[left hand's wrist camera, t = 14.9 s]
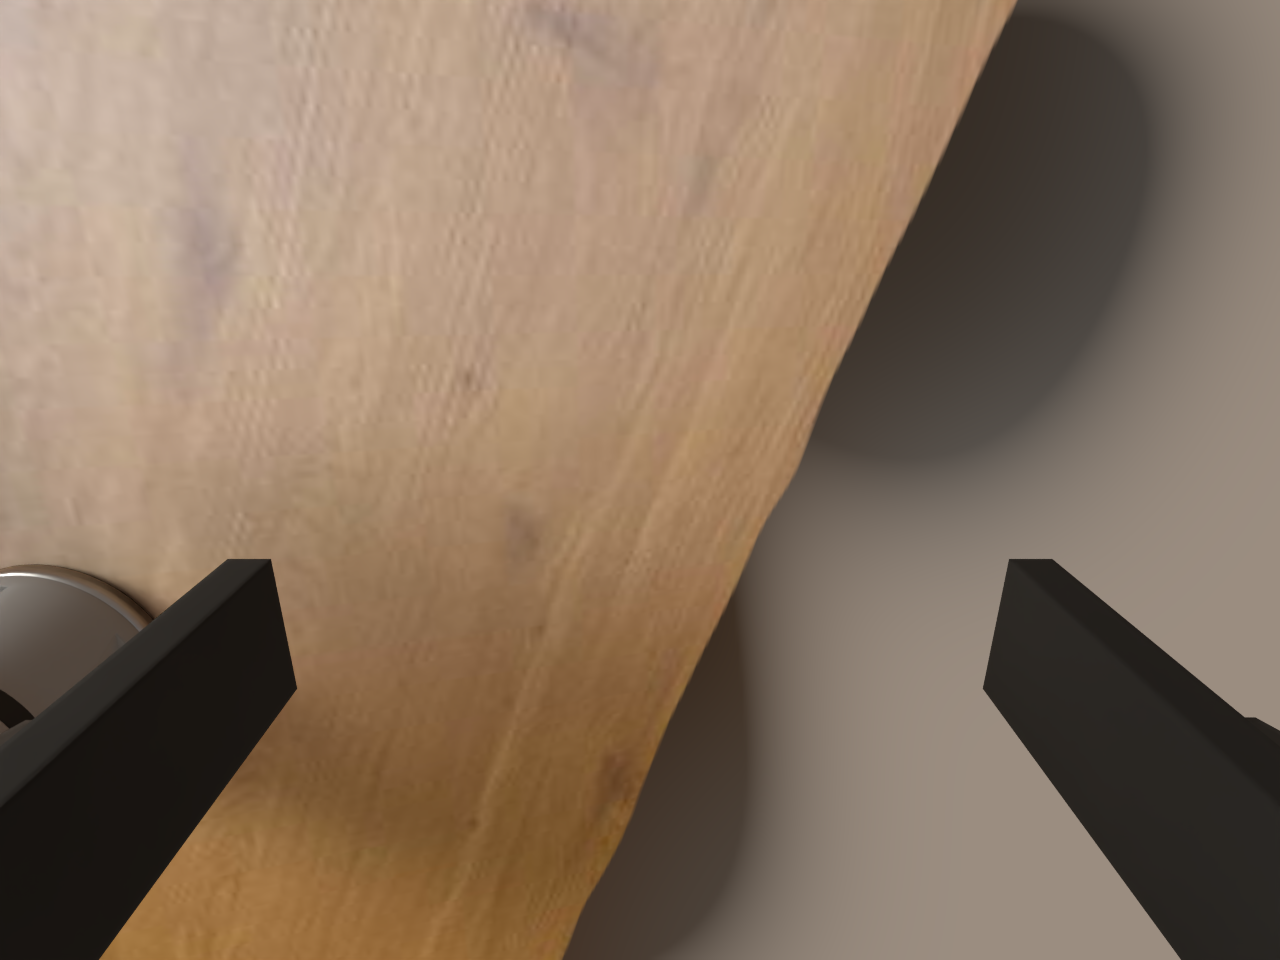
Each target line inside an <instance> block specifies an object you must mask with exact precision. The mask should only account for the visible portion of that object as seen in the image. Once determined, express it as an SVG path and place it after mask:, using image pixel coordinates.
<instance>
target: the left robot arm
mask: <svg viewBox="0 0 1280 960" xmlns="http://www.w3.org/2000/svg"><path fill="white" fill-rule="evenodd" d="M296 689H297V686H296V681H295V676H294V671H293V666H292V661H291V656H290V651H289V646H288V641H287V636H286V631H285V627H284V622H283V617H282V612H281V607H280V602H279V597H278V592H277V587H276V582H275V577H274V572H273V567H272V562H271V559H227V560H226V561H225V562H224V563H222V564H221V565H220V566H219V567H218V568H216V569H215V570H214V571H213V572H211V573H210V574H209V575H208V576H207V577H205V578H204V579H203V580H202V581H201V582H199V583H198V584H197V585H196V586H194V587H193V588H192V589H191V590H190V591H188V592H187V593H186V594H185V595H184V596H182V597H181V598H180V599H179V600H177V601H176V602H175V603H174V604H173V605H171V606H170V607H169V608H168V609H167V610H165V611H164V612H163V613H162V614H160V615H159V616H158V617H157V618H156V619H154V620H153V619H152V618H151V617H150V616H149V615H148V614H147V613H146V612H145V611H144V610H143V609H142V608H141V607H140V606H139V605H138V604H136V603H135V602H134V601H133V600H131V599H130V598H129V597H127V596H126V595H125V594H123V593H122V592H120V591H119V590H117V589H115V588H114V587H112V586H110V585H108V584H107V583H105V582H102V581H100V580H98V579H96V578H94V577H91V576H89V575H86V574H84V573H81V572H77V571H74V570H70V569H66V568H62V567H56V566H50V565H19V566H12V567H7V568H3V569H0V960H99V959H100V957H101V956H102V955H103V953H104V952H105V951H106V949H107V948H108V946H109V945H110V944H111V942H112V941H113V940H114V938H115V937H116V936H117V934H118V933H119V931H120V930H121V929H122V927H123V926H124V925H125V923H126V922H127V920H128V919H129V918H130V916H131V915H132V914H133V912H134V911H135V910H136V908H137V907H138V905H139V904H140V903H141V901H142V900H143V899H144V897H145V896H146V894H147V893H148V892H149V890H150V889H151V888H152V886H153V885H154V884H155V882H156V881H157V879H158V878H159V877H160V875H161V874H162V873H163V871H164V870H165V869H166V867H167V866H168V864H169V863H170V862H171V860H172V859H173V858H174V856H175V855H176V853H177V852H178V851H179V849H180V848H181V847H182V845H183V844H184V843H185V841H186V840H187V838H188V837H189V836H190V834H191V833H192V832H193V830H194V829H195V827H196V826H197V825H198V823H199V822H200V821H201V819H202V818H203V817H204V815H205V814H206V812H207V811H208V810H209V808H210V807H211V806H212V804H213V803H214V802H215V800H216V799H217V797H218V796H219V795H220V793H221V792H222V791H223V789H224V788H225V786H226V785H227V784H228V782H229V781H230V780H231V778H232V777H233V776H234V774H235V773H236V771H237V770H238V769H239V767H240V766H241V765H242V763H243V762H244V761H245V759H246V758H247V756H248V755H249V754H250V752H251V751H252V750H253V748H254V747H255V745H256V744H257V743H258V741H259V740H260V739H261V737H262V736H263V735H264V733H265V732H266V730H267V729H268V728H269V726H270V725H271V724H272V722H273V721H274V719H275V718H276V717H277V715H278V714H279V713H280V711H281V710H282V709H283V707H284V706H285V704H286V703H287V702H288V700H289V699H290V698H291V696H292V695H293V694H294V692H295V691H296ZM983 689H984V691H985V692H986V694H987V695H988V696H989V698H990V699H991V700H992V702H993V703H994V704H995V706H996V707H997V709H998V710H999V711H1000V713H1001V714H1002V715H1003V717H1004V718H1005V719H1006V721H1007V722H1008V724H1009V725H1010V726H1011V728H1012V729H1013V730H1014V732H1015V733H1016V735H1017V736H1018V737H1019V739H1020V740H1021V741H1022V743H1023V744H1024V745H1025V747H1026V748H1027V750H1028V751H1029V752H1030V754H1031V755H1032V756H1033V758H1034V759H1035V761H1036V762H1037V763H1038V765H1039V766H1040V767H1041V769H1042V770H1043V771H1044V773H1045V774H1046V776H1047V777H1048V778H1049V780H1050V781H1051V782H1052V784H1053V785H1054V786H1055V788H1056V789H1057V790H1058V792H1059V793H1060V795H1061V796H1062V797H1063V799H1064V800H1065V802H1066V803H1067V804H1068V806H1069V807H1070V808H1071V810H1072V811H1073V812H1074V814H1075V815H1076V817H1077V818H1078V819H1079V821H1080V822H1081V823H1082V825H1083V826H1084V827H1085V829H1086V830H1087V831H1088V833H1089V834H1090V836H1091V837H1092V838H1093V840H1094V841H1095V843H1096V844H1097V845H1098V847H1099V848H1100V849H1101V851H1102V852H1103V853H1104V855H1105V856H1106V858H1107V859H1108V860H1109V862H1110V863H1111V864H1112V866H1113V867H1114V868H1115V870H1116V871H1117V873H1118V874H1119V875H1120V877H1121V878H1122V879H1123V881H1124V882H1125V884H1126V885H1127V886H1128V888H1129V889H1130V890H1131V892H1132V893H1133V894H1134V896H1135V897H1136V899H1137V900H1138V901H1139V903H1140V904H1141V905H1142V907H1143V908H1144V910H1145V911H1146V912H1147V914H1148V915H1149V916H1150V918H1151V919H1152V920H1153V922H1154V923H1155V924H1156V926H1157V927H1158V929H1159V930H1160V931H1161V933H1162V934H1163V936H1164V937H1165V938H1166V940H1167V941H1168V942H1169V944H1170V945H1171V946H1172V948H1173V949H1174V951H1175V952H1176V953H1177V955H1178V956H1179V957H1180V959H1181V960H1280V731H1279V730H1277V729H1276V728H1274V727H1272V726H1270V725H1268V724H1266V723H1264V722H1263V721H1261V720H1259V719H1257V718H1245V717H1243V716H1242V715H1241V714H1240V713H1239V712H1237V711H1236V710H1235V709H1234V708H1233V707H1231V706H1230V705H1229V704H1228V703H1226V702H1225V701H1224V700H1223V699H1221V698H1220V697H1219V696H1218V695H1217V694H1215V693H1214V692H1213V691H1212V690H1211V689H1209V688H1208V687H1207V686H1206V685H1205V684H1203V683H1202V682H1201V681H1200V680H1198V679H1197V678H1196V677H1195V676H1194V675H1192V674H1191V673H1190V672H1189V671H1188V670H1186V669H1185V668H1184V667H1183V666H1181V665H1180V664H1179V663H1178V662H1177V661H1175V660H1174V659H1173V658H1172V657H1170V656H1169V655H1168V654H1167V653H1166V652H1164V651H1163V650H1162V649H1161V648H1160V647H1158V646H1157V645H1156V644H1155V643H1153V642H1152V641H1151V640H1150V639H1149V638H1147V637H1146V636H1145V635H1144V634H1143V633H1141V632H1140V631H1139V630H1138V629H1137V628H1135V627H1134V626H1133V625H1132V624H1130V623H1129V622H1128V621H1127V620H1126V619H1124V618H1123V617H1122V616H1121V615H1120V614H1118V613H1117V612H1116V611H1115V610H1113V609H1112V608H1111V607H1110V606H1109V605H1107V604H1106V603H1105V602H1104V601H1102V600H1101V599H1100V598H1099V597H1098V596H1096V595H1095V594H1094V593H1093V592H1092V591H1090V590H1089V589H1088V588H1087V587H1086V586H1084V585H1083V584H1082V583H1081V582H1079V581H1078V580H1077V579H1076V578H1075V577H1073V576H1072V575H1071V574H1070V573H1068V572H1067V571H1066V570H1065V569H1064V568H1062V567H1061V566H1060V565H1059V564H1058V563H1056V562H1055V561H1054V560H1053V559H1009V562H1008V568H1007V572H1006V577H1005V582H1004V587H1003V592H1002V597H1001V602H1000V607H999V612H998V617H997V622H996V627H995V631H994V636H993V641H992V646H991V651H990V656H989V661H988V666H987V671H986V676H985V681H984V686H983Z"/></svg>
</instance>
